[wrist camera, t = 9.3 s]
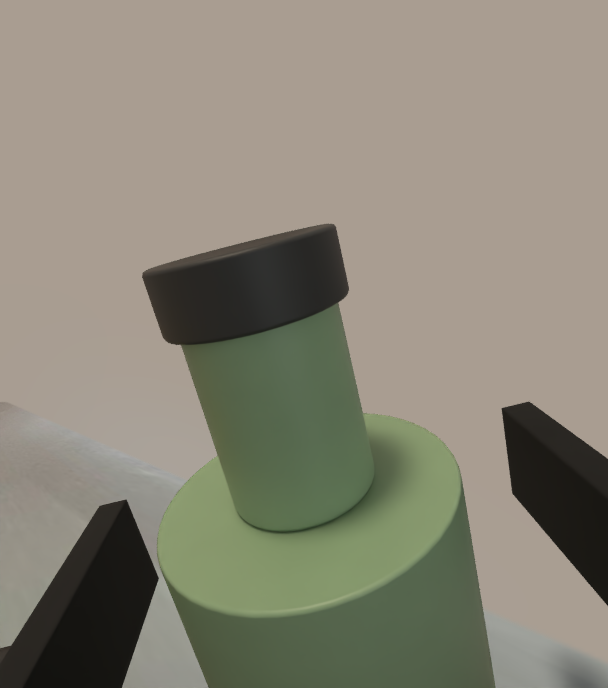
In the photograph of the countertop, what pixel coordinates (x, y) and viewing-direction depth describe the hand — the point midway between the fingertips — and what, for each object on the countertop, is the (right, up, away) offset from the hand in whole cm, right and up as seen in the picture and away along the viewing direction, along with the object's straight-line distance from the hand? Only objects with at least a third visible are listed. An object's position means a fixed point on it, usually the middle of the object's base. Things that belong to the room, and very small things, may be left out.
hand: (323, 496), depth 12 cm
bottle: (+2, -9, -2) cm, 10 cm away
